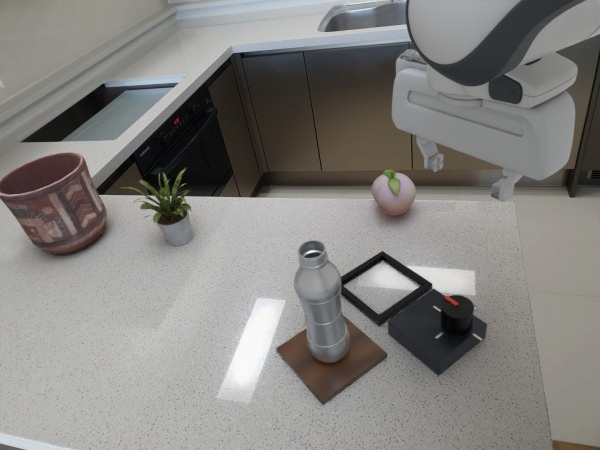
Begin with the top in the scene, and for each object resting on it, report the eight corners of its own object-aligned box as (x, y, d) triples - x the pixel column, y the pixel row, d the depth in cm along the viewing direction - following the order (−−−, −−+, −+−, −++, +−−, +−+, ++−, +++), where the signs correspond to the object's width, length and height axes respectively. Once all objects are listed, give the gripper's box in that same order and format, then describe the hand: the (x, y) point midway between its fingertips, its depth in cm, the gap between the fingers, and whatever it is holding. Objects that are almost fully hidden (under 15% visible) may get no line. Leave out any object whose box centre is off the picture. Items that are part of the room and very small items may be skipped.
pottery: (99, 259, 99) (60, 189, 88) (24, 268, 101) (-23, 200, 90) (126, 212, 113) (95, 146, 102) (59, 220, 115) (22, 157, 104)
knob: (479, 323, 66) (481, 305, 64) (457, 339, 64) (458, 321, 62) (455, 306, 69) (456, 288, 67) (434, 321, 68) (434, 303, 65)
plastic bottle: (352, 332, 71) (338, 230, 60) (351, 369, 66) (336, 266, 54) (311, 333, 72) (289, 234, 61) (307, 370, 67) (283, 269, 55)
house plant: (138, 269, 94) (106, 203, 84) (146, 230, 105) (118, 168, 95) (207, 254, 94) (183, 187, 85) (207, 216, 106) (186, 153, 96)
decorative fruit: (423, 220, 92) (423, 177, 86) (385, 230, 91) (382, 188, 85) (404, 196, 100) (403, 156, 94) (368, 206, 99) (365, 165, 93)
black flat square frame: (432, 288, 77) (432, 283, 76) (379, 326, 72) (378, 321, 72) (382, 255, 86) (382, 250, 85) (332, 287, 81) (331, 282, 80)
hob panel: (499, 337, 67) (501, 323, 65) (446, 382, 63) (446, 368, 61) (438, 297, 75) (439, 283, 73) (388, 333, 71) (387, 320, 69)
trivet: (387, 356, 68) (387, 353, 67) (323, 405, 63) (322, 401, 63) (336, 311, 76) (336, 308, 76) (276, 351, 72) (275, 348, 71)
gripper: (375, 55, 51) (382, 164, 59) (553, 94, 36) (529, 232, 44) (416, 38, 53) (417, 145, 61) (598, 69, 39) (567, 204, 47)
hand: (465, 182), depth 53 cm, fingers open, 8 cm apart
